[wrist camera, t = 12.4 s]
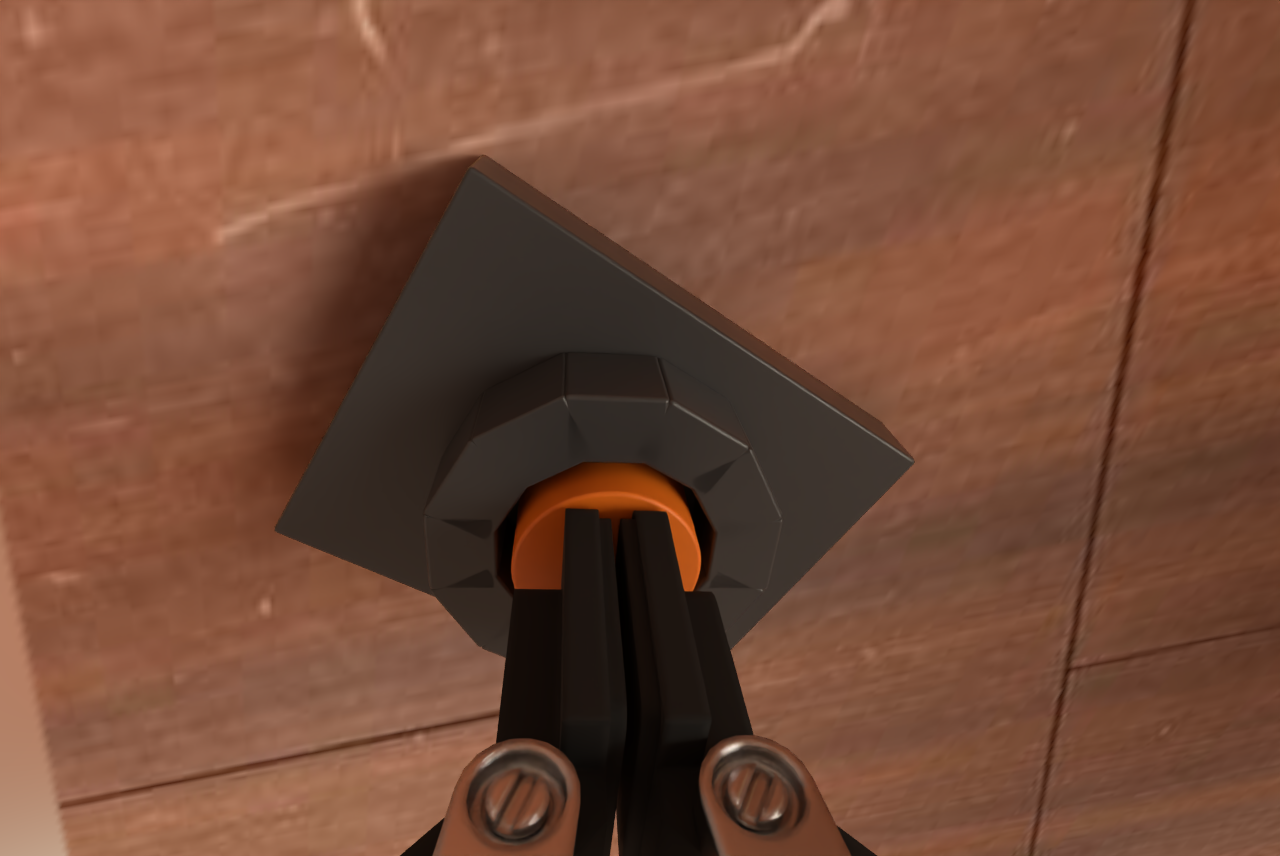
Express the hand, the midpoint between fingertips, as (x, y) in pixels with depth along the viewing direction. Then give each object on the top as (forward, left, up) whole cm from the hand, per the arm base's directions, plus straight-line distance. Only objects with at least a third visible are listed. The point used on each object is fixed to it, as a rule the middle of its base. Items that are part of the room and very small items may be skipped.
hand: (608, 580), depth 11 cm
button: (0, 0, -2) cm, 2 cm away
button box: (0, 0, -4) cm, 4 cm away
